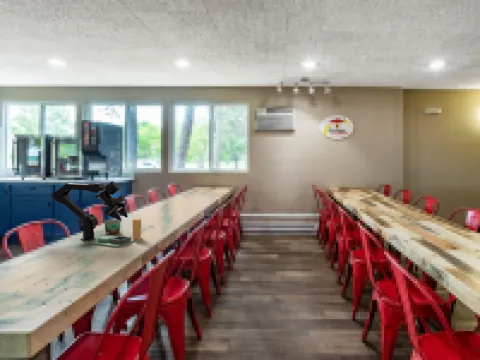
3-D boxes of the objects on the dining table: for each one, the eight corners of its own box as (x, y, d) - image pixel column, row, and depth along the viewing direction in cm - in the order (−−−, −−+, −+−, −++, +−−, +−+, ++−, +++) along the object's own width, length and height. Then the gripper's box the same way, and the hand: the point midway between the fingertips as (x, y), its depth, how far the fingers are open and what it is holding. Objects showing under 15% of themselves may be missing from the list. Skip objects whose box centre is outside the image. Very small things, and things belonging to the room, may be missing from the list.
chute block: (132, 239, 202) (132, 220, 201) (133, 237, 206) (133, 218, 206) (140, 239, 203) (140, 219, 202) (141, 237, 207) (141, 218, 206)
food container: (108, 236, 209) (108, 221, 208) (103, 234, 213) (103, 219, 212) (125, 232, 219) (125, 218, 218) (120, 231, 223) (120, 217, 222)
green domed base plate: (90, 243, 190) (90, 238, 189) (108, 238, 204) (108, 232, 203) (117, 247, 183) (117, 241, 183) (134, 241, 197) (134, 236, 197)
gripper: (110, 192, 187) (127, 212, 187) (123, 189, 206) (139, 208, 206) (96, 205, 188) (113, 224, 188) (111, 200, 207) (127, 219, 207)
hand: (124, 218), depth 197 cm, fingers open, 9 cm apart
